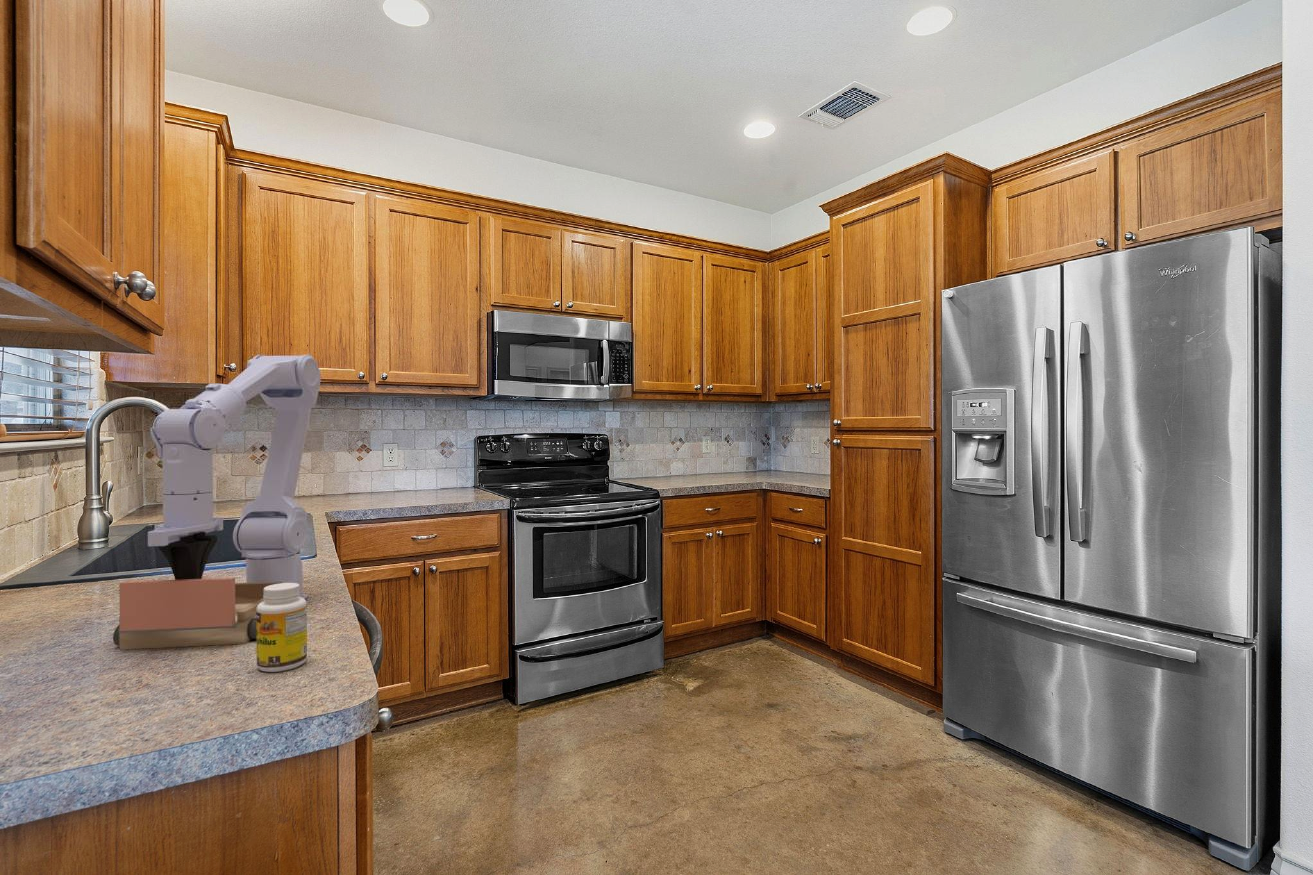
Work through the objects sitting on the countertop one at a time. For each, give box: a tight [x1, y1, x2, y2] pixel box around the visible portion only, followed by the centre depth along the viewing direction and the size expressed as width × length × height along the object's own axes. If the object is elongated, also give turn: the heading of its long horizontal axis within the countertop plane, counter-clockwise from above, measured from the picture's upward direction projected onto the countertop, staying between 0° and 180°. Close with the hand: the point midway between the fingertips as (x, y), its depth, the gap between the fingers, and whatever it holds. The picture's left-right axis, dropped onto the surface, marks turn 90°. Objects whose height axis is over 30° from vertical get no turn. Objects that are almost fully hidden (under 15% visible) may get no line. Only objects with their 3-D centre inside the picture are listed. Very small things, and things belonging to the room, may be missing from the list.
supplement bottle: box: [256, 583, 308, 673], centre depth 81 cm, size 6×6×10 cm
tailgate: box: [118, 577, 237, 633], centre depth 87 cm, size 1×14×7 cm, turn 99°
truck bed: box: [112, 582, 282, 650], centre depth 94 cm, size 12×18×6 cm, turn 98°
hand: (188, 588), depth 90 cm, fingers closed
